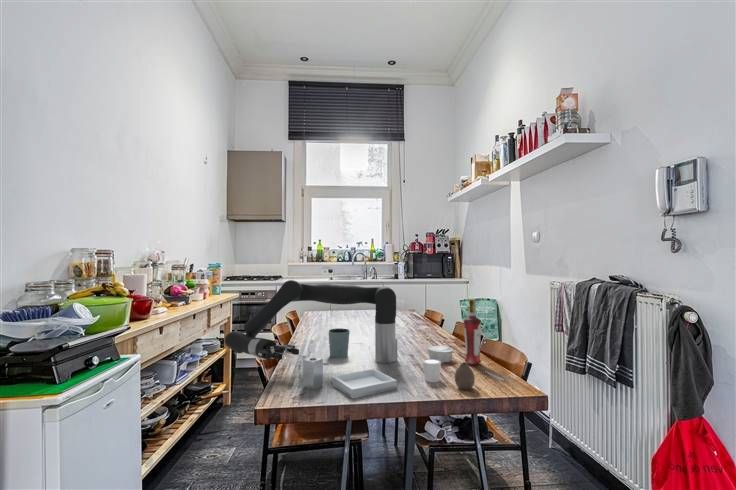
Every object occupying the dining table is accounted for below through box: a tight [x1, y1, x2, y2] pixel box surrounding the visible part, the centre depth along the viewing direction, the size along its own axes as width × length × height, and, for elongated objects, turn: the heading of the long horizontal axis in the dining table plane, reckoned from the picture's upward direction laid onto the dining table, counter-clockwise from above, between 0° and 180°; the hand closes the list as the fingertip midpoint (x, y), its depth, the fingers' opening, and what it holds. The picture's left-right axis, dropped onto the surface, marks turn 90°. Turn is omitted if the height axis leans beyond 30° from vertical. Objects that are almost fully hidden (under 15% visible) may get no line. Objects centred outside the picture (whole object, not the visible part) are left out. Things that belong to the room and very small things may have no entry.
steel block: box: [302, 356, 324, 391], centre depth 134 cm, size 5×5×10 cm
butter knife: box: [484, 370, 505, 381], centre depth 153 cm, size 1×27×3 cm
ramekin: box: [427, 345, 454, 364], centre depth 168 cm, size 11×11×5 cm
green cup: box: [328, 328, 350, 359], centre depth 177 cm, size 10×10×12 cm
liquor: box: [463, 298, 482, 366], centre depth 162 cm, size 7×7×28 cm
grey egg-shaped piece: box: [454, 362, 476, 391], centre depth 132 cm, size 7×7×9 cm
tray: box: [331, 368, 398, 399], centre depth 134 cm, size 18×16×3 cm
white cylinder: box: [422, 358, 442, 383], centre depth 141 cm, size 7×7×7 cm
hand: (290, 354), depth 140 cm, fingers open, 8 cm apart
